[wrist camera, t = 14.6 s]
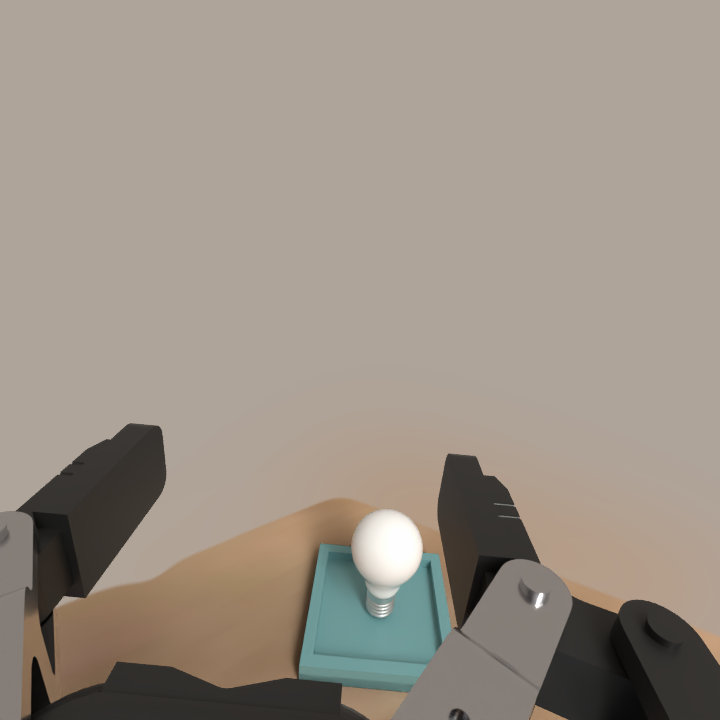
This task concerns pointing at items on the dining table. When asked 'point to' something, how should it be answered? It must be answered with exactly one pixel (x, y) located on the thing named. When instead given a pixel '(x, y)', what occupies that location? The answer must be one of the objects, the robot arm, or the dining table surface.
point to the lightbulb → (385, 556)
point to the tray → (371, 626)
